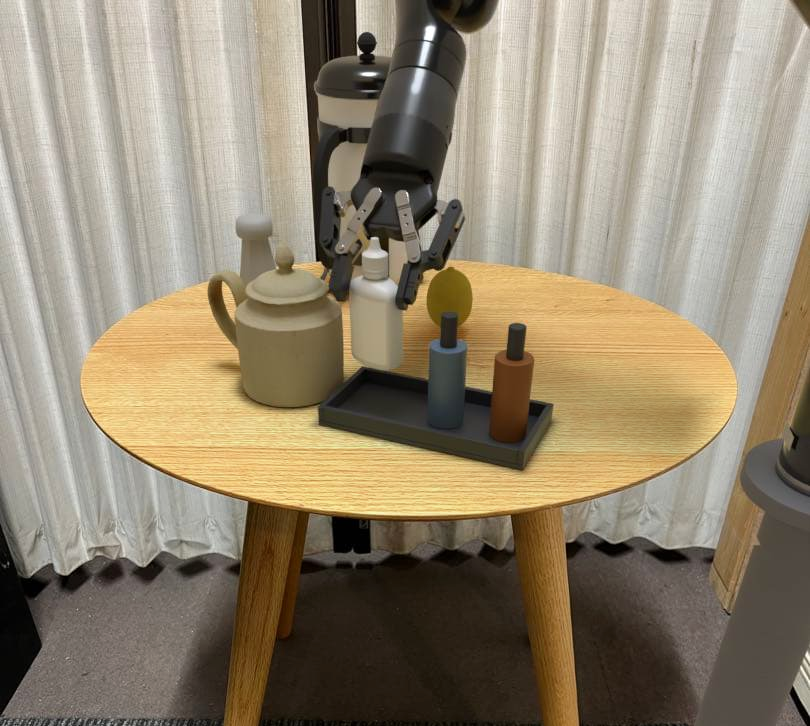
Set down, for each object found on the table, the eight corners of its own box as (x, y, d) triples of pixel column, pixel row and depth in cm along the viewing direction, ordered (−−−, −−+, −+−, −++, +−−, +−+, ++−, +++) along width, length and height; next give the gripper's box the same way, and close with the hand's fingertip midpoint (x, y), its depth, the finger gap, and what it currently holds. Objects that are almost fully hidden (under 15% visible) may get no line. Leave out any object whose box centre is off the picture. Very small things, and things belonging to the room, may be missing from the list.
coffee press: (301, 272, 118) (285, 26, 100) (410, 264, 121) (413, 24, 103) (321, 318, 104) (305, 43, 86) (442, 308, 108) (452, 40, 89)
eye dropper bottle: (362, 376, 79) (358, 250, 72) (348, 352, 84) (343, 231, 76) (406, 370, 80) (406, 245, 73) (390, 347, 85) (389, 227, 77)
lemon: (441, 344, 98) (443, 278, 94) (417, 328, 102) (418, 263, 97) (479, 335, 101) (483, 270, 96) (454, 320, 104) (457, 256, 100)
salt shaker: (296, 320, 104) (288, 213, 96) (267, 336, 100) (257, 225, 92) (260, 311, 106) (249, 205, 98) (230, 325, 102) (217, 217, 94)
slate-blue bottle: (468, 416, 83) (474, 310, 77) (455, 432, 81) (461, 324, 74) (435, 409, 84) (438, 304, 78) (421, 424, 82) (424, 318, 75)
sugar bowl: (195, 405, 86) (171, 260, 77) (221, 359, 94) (203, 225, 85) (337, 410, 85) (331, 264, 76) (350, 364, 94) (346, 229, 85)
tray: (551, 421, 83) (553, 403, 82) (522, 470, 76) (524, 451, 75) (362, 382, 90) (362, 365, 89) (318, 424, 83) (317, 406, 81)
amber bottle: (530, 429, 81) (542, 321, 75) (519, 446, 78) (531, 336, 72) (495, 421, 82) (504, 315, 76) (483, 438, 80) (492, 329, 73)
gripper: (328, 104, 76) (284, 274, 75) (478, 115, 73) (436, 294, 71) (350, 153, 84) (311, 310, 82) (488, 165, 80) (450, 329, 78)
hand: (369, 301), depth 76 cm, fingers closed on eye dropper bottle, 5 cm apart
